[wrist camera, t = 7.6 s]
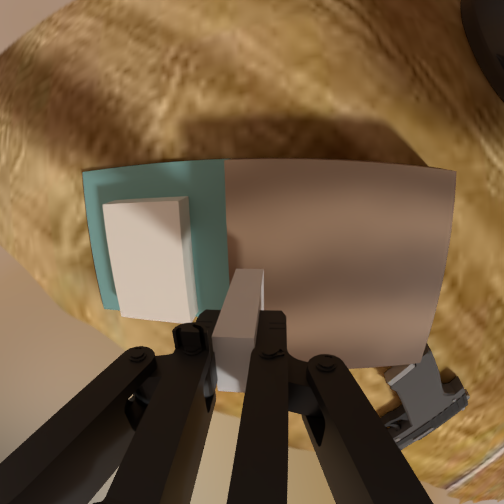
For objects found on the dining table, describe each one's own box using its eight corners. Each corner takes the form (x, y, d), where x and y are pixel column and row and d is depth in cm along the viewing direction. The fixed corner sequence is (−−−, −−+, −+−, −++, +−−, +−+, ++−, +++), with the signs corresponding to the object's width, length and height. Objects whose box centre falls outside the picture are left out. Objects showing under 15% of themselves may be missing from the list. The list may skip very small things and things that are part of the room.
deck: (234, 158, 20) (224, 160, 16) (428, 166, 19) (456, 171, 15) (241, 337, 24) (234, 368, 21) (404, 334, 23) (420, 362, 19)
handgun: (290, 447, 27) (358, 478, 28) (429, 350, 21) (479, 401, 22) (292, 428, 30) (357, 462, 31) (420, 333, 24) (471, 385, 25)
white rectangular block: (178, 200, 19) (188, 196, 21) (102, 204, 20) (116, 199, 22) (190, 324, 22) (198, 311, 24) (121, 316, 23) (132, 305, 24)
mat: (84, 171, 21) (82, 172, 21) (230, 158, 20) (229, 158, 20) (105, 307, 25) (104, 308, 25) (236, 316, 24) (236, 318, 24)
